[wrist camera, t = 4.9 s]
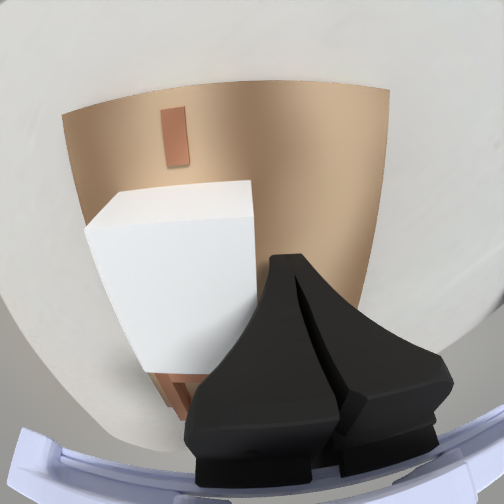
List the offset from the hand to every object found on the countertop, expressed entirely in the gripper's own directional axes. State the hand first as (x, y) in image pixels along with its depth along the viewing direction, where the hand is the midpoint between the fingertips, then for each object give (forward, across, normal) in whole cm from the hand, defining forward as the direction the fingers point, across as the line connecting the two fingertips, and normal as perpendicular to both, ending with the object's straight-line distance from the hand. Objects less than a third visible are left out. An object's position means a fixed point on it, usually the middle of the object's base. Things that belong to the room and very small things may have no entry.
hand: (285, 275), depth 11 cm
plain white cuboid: (+1, +4, 0) cm, 4 cm away
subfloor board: (+2, +2, +3) cm, 4 cm away
